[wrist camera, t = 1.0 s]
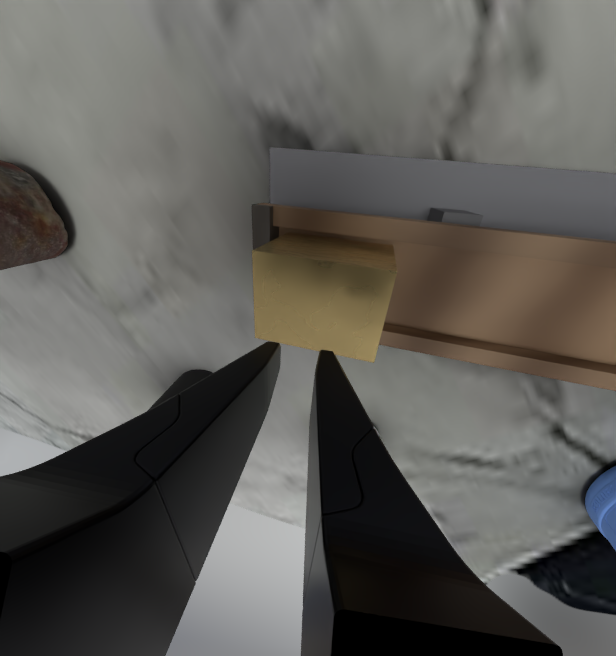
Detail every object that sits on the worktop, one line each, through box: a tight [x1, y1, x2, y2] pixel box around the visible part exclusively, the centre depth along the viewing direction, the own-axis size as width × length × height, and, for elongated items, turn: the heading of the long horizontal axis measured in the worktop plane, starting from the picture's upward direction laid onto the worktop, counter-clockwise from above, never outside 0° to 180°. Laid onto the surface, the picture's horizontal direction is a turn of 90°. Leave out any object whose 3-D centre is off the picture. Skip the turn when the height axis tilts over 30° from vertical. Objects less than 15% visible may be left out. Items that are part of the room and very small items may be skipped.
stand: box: [270, 147, 616, 241], centre depth 17 cm, size 23×13×4 cm, turn 86°
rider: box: [252, 232, 397, 363], centre depth 14 cm, size 6×4×5 cm
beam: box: [252, 203, 616, 391], centre depth 14 cm, size 22×7×2 cm, turn 86°
